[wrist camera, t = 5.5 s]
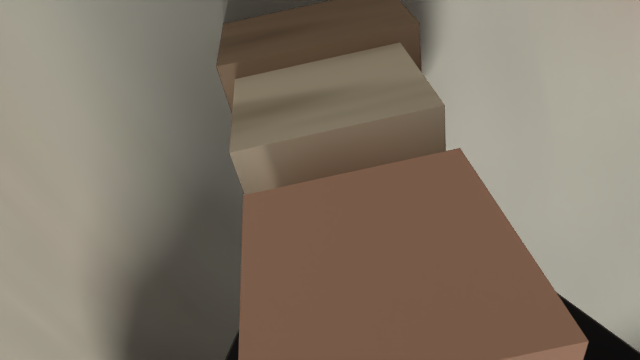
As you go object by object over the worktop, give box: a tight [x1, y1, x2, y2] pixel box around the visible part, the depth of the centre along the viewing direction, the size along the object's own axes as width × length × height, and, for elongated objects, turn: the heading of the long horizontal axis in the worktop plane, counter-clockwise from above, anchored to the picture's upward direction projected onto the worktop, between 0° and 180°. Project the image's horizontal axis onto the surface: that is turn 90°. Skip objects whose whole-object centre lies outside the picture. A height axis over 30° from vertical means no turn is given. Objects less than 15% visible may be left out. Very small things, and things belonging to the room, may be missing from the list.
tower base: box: [216, 0, 421, 112], centre depth 17 cm, size 6×6×4 cm
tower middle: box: [229, 42, 446, 195], centre depth 14 cm, size 5×5×4 cm
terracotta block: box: [238, 148, 589, 360], centre depth 9 cm, size 4×4×4 cm
